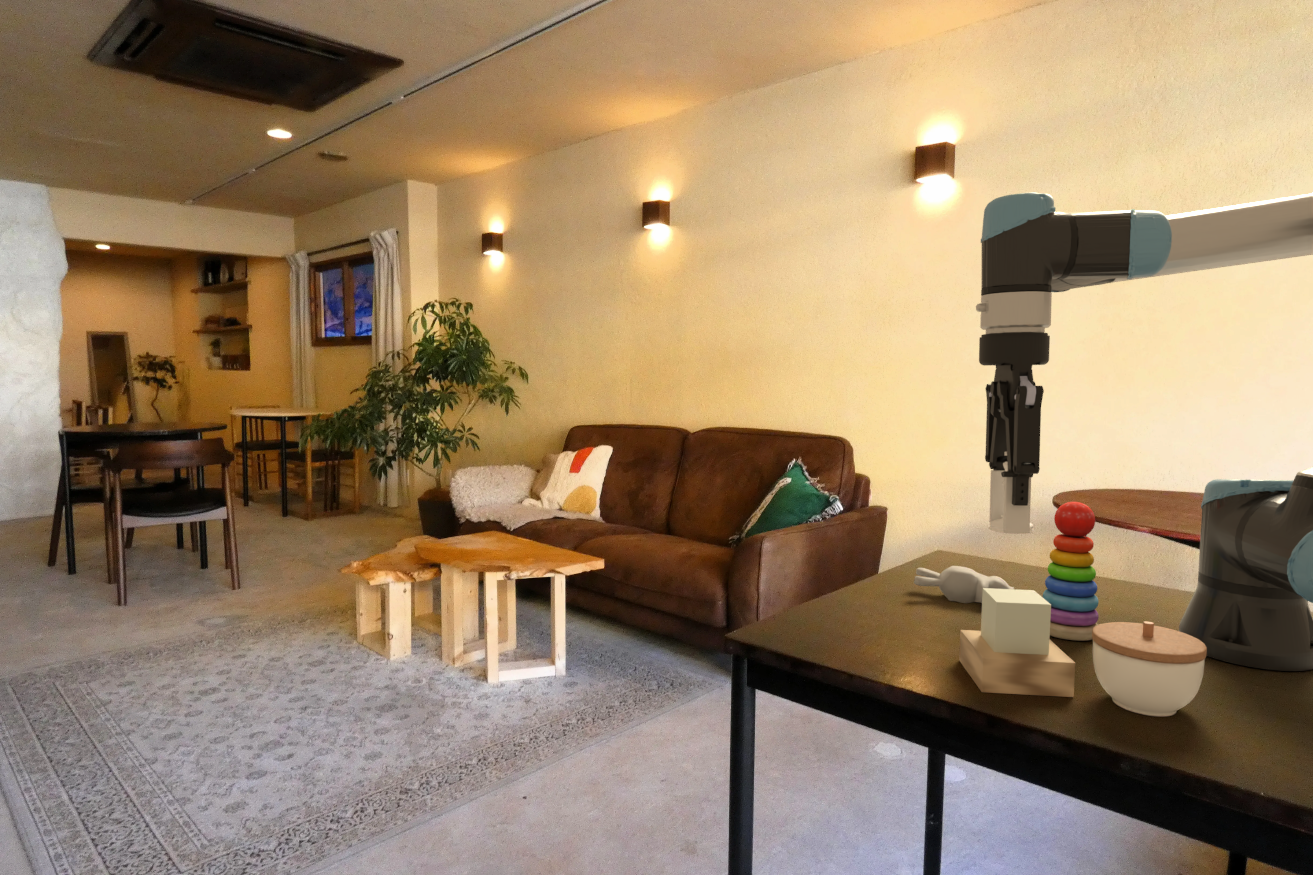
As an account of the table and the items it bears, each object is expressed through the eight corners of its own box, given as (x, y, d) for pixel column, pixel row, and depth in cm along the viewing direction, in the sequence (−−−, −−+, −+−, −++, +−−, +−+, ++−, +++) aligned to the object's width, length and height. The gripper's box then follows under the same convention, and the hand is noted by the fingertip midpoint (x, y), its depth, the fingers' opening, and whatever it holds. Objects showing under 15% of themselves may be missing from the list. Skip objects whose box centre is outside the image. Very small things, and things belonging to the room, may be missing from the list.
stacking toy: (1108, 645, 106) (1116, 508, 104) (1045, 640, 108) (1051, 505, 106) (1089, 626, 114) (1096, 498, 112) (1030, 622, 115) (1036, 496, 114)
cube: (1031, 637, 97) (1033, 590, 96) (1048, 654, 91) (1051, 604, 91) (980, 634, 98) (982, 587, 97) (994, 652, 92) (996, 602, 91)
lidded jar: (1098, 678, 95) (1103, 602, 94) (1206, 702, 88) (1212, 620, 87) (1079, 707, 86) (1083, 624, 86) (1196, 736, 80) (1203, 646, 79)
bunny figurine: (1018, 588, 120) (916, 567, 125) (1012, 620, 120) (911, 598, 125) (1014, 573, 128) (919, 554, 134) (1009, 603, 129) (914, 583, 134)
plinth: (1041, 664, 99) (1043, 633, 98) (1073, 696, 89) (1075, 662, 89) (959, 660, 100) (960, 629, 100) (981, 691, 90) (983, 658, 90)
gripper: (961, 335, 101) (957, 513, 103) (1003, 328, 84) (997, 543, 85) (1023, 334, 100) (1017, 514, 102) (1078, 326, 83) (1071, 544, 84)
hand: (1008, 527), depth 94 cm, fingers closed on chess piece, 5 cm apart
